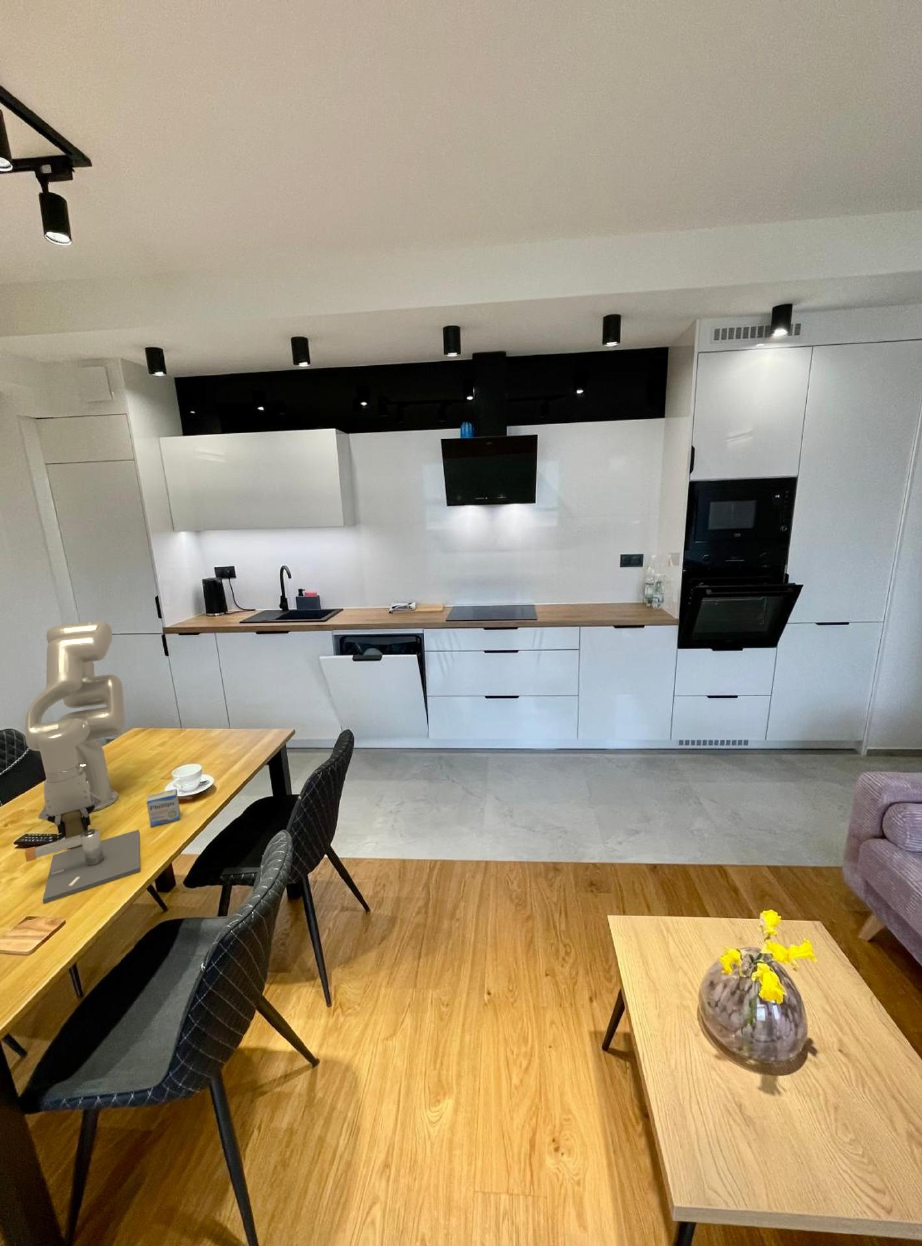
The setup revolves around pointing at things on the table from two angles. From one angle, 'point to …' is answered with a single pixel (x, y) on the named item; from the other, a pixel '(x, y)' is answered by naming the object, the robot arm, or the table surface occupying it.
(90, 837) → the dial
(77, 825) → the cork
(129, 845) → the dial plate
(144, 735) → the table surface
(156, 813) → the medicine box
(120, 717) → the robot arm
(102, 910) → the table surface
